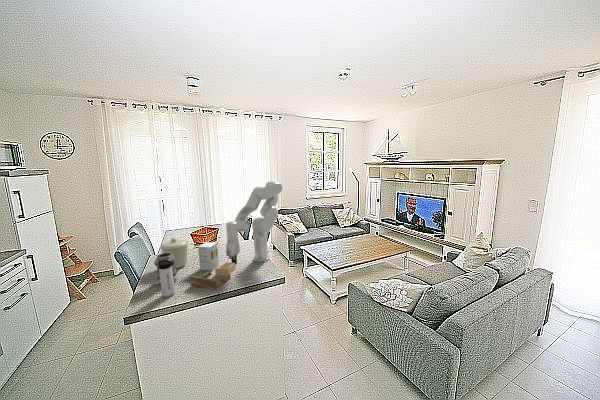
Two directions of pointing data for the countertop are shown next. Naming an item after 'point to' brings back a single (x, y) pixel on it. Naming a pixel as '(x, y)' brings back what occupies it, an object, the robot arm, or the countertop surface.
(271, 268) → the countertop surface
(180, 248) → the canister
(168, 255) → the apothecary jar
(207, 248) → the supplement box
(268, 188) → the robot arm
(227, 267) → the kraft carton
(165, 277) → the travel mug
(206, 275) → the stand
